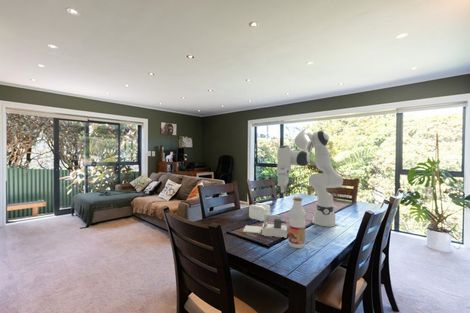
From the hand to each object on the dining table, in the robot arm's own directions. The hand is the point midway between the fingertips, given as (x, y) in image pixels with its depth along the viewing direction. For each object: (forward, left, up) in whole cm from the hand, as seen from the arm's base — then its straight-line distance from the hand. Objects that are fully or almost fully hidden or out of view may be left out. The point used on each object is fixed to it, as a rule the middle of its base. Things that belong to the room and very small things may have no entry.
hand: (283, 191), depth 144 cm
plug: (-3, -2, -27) cm, 27 cm away
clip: (-3, -7, -24) cm, 25 cm away
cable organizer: (-34, -18, -30) cm, 48 cm away
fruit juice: (+12, +8, -29) cm, 33 cm away
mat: (-7, -20, -29) cm, 36 cm away
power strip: (-3, -5, -29) cm, 30 cm away
